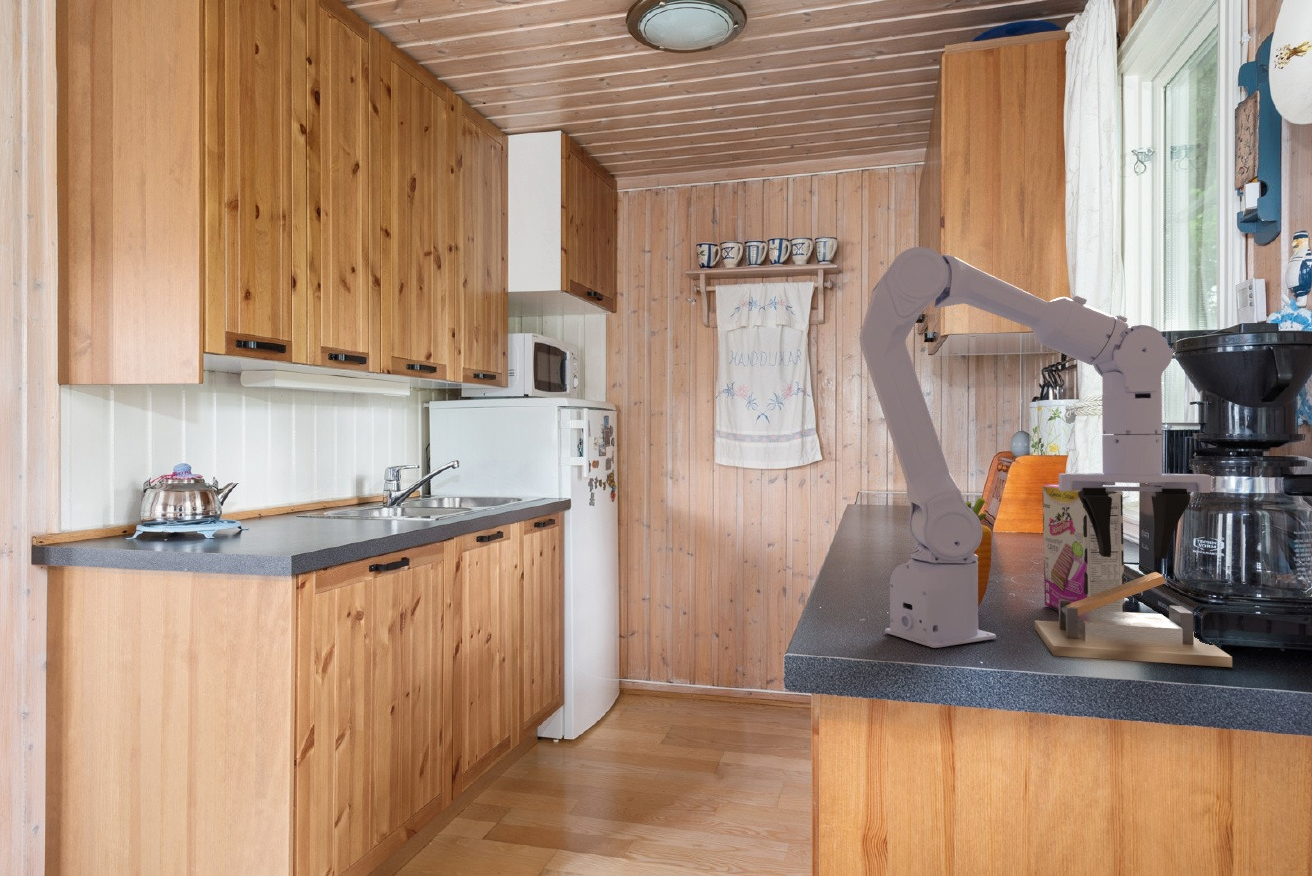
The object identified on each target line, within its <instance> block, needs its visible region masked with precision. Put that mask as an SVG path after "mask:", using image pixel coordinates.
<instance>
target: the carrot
mask: <svg viewBox="0 0 1312 876" xmlns="http://www.w3.org/2000/svg"><path fill="white" fill-rule="evenodd" d="M985 502H986V499H985V498H983V497H978V498H977V500H976V501H975V503H974V505H973V508H972V509H971V507H972V502H970V501H967V502H965V503H966V505H967V506H968V507H969V508H970V509H971V510H972V511H973V512H974V513H975V514H976V515H977V517H978V518H979V520H980V522H981V521H982V520H983V519H985V518H986V517H987V515H988V514H987V513H986V512H983V513H980V512H981V510H982V508H983V506H984V504H985ZM981 525H982V540H981V542H980V545H979V547H978V548H977V549H976V551H975V552H974V553H973V554H976V555H977V556H978V560H977V561H978V608H979V607H980V605H981V603H982V601H983V599H984V597H985V594H986V591H987V589H988V583H989V579H990V573H991V565H992V552H993V550H992V549H993V547H992V546H993V544H992V543H993V533H992V530H991V528H990V527H988V526H986V525H984V524H981Z"/></svg>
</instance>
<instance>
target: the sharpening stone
mask: <svg viewBox="0 0 1312 876" xmlns="http://www.w3.org/2000/svg"><path fill="white" fill-rule="evenodd" d="M1068 604H1070V601H1069V600H1060V599H1059V612H1058V622H1059V629H1060V630H1066V637H1067V639H1078V635H1079V636H1080V637H1081V638H1082V639H1083V640H1084V641H1085V642H1090V643H1107V644H1123V645H1140V646H1156V647H1173V648H1183V644H1187V645H1194V632H1195V631H1194V629H1195V628H1194V613H1193V612H1192V611H1190V610H1189V609H1187V608H1185V607H1184V606H1183V605H1169V606H1168V617H1166V616H1164V615H1163V614H1162V613H1147V612H1130V611H1129V612H1128V611H1124V612H1111V611H1088V612H1086V613H1083V614H1080V615H1078V609H1077V608H1076V607H1066V615H1065V614H1064V613H1063V612H1062V610H1061V608H1062V607H1063V606H1064V605H1068Z"/></svg>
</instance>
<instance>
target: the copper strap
mask: <svg viewBox="0 0 1312 876" xmlns="http://www.w3.org/2000/svg"><path fill="white" fill-rule="evenodd" d="M1166 583H1167V581H1166V578H1165V577H1164V575H1163V574H1160V573H1159V572H1157V571H1154V572H1151V573H1148V574H1146V575H1144V576H1141V577H1138V578H1135V579H1133V580H1130V581H1127V582H1124V584H1122V585H1119V586H1116V587H1113V588H1111V589H1108V590H1105V591H1103V592H1100V593H1097V594H1095V595H1092V596H1089V597H1087V598H1084V599H1081V600H1079V601H1076V602H1073V603H1071V604H1068V605H1064V606H1063V607H1062V608H1061V610H1062V612H1063V613H1064V614H1065V615H1066V607H1076V608H1077V609H1078V615H1080V614H1083V613H1086V612H1088V611H1091V610H1094V609H1096V608H1099V607H1102V606H1105V605H1107V604H1110V603H1113V602H1115V601H1118V600H1121V599H1124V600H1125V599H1126V598H1128V597H1131V596H1134V595H1137V594H1139V593H1142V592H1145V591H1147V590H1150V589H1153V588H1155V587H1158V586H1161V585H1165V584H1166Z"/></svg>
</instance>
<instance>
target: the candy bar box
mask: <svg viewBox="0 0 1312 876" xmlns="http://www.w3.org/2000/svg"><path fill="white" fill-rule="evenodd" d="M1041 489H1042V523H1043V524H1042V527H1043V528H1042V531H1043V533H1042V534H1043V535H1042V536H1043V538H1042V539H1043V570H1044V571H1043V575H1044V577H1043V578H1044V581H1043V582H1044V585H1043V586H1044V606H1046V607H1048V608H1051V609H1053V610H1055V611H1056V612H1058V613H1059V599H1060V600H1069V601H1070V604H1071V603H1073V602H1076V601H1079V600H1081V599H1084V598H1087V597H1089V596H1092V595H1095V594H1097V593H1100V592H1103V591H1105V590H1108V589H1111V588H1113V587H1116V586H1119V585H1122V584H1124V583H1125V561H1124V560H1125V558H1124V557H1125V555H1124V551H1125V548H1124V547H1125V546H1124V514H1123V513H1124V512H1123V511H1124V510H1123V509H1124V508H1123V507H1124V505H1123V502H1124V501H1123V500H1124V499H1123V495H1124V491H1106V493H1108V496H1109V497H1111V498H1112V505H1111V516H1110V537H1111V557H1103V556H1101V555H1100V554H1099V547H1098V542H1097V538H1096V535H1095V531H1094V529H1093V526H1092V523H1091V521H1090V518H1089V516H1088V514H1087V512H1086V510H1085V508H1084V506H1083V504H1082V502H1081V500H1080V498H1079V496H1078V491H1061V490H1059V484H1046V485H1042V488H1041ZM1125 608H1126V607H1125V598H1124V599H1121V600H1118V601H1115V602H1113V603H1110V604H1107V605H1105V606H1102V607H1099V608H1096V609H1094V610H1091V611H1111V612H1126V610H1125Z"/></svg>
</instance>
